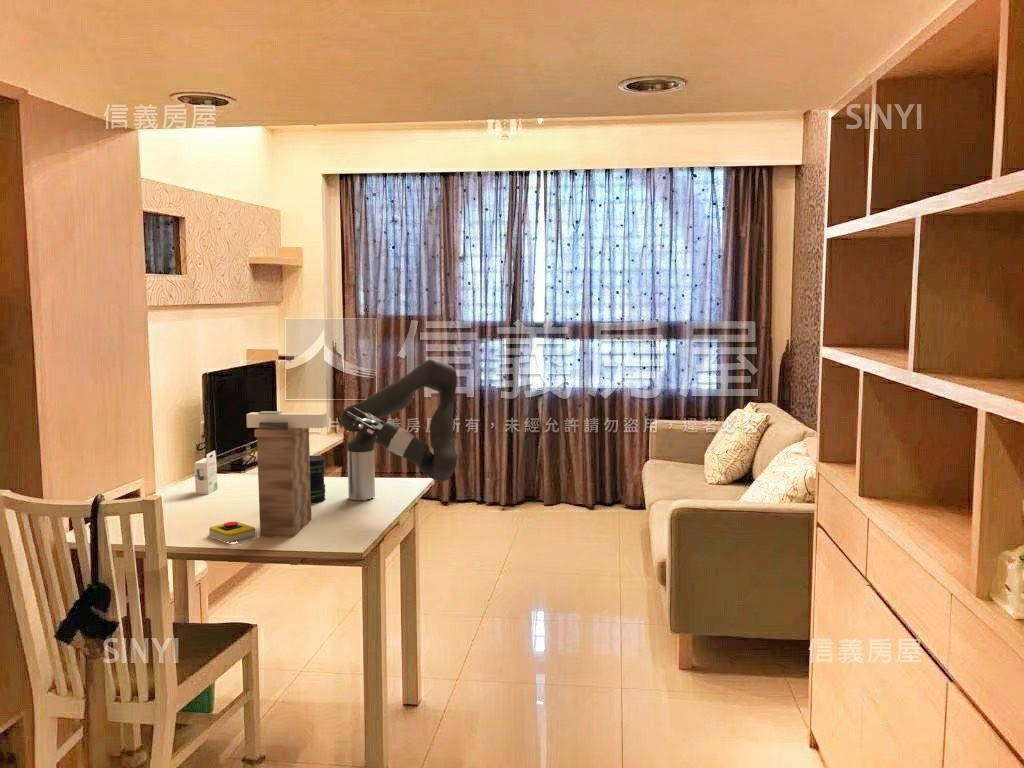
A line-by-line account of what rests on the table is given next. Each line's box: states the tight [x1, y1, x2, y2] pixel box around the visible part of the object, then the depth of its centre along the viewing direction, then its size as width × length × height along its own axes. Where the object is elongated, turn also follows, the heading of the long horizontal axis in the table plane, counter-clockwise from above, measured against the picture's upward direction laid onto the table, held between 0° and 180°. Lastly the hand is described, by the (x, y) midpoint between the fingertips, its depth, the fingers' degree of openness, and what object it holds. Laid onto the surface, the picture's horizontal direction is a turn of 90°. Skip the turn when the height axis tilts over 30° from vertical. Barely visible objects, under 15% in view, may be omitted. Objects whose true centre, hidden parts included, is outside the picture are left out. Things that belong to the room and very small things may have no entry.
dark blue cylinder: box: [310, 455, 326, 505], centre depth 275 cm, size 10×10×15 cm
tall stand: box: [253, 422, 312, 537], centre depth 240 cm, size 19×11×34 cm, turn 178°
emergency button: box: [208, 521, 261, 544], centre depth 233 cm, size 9×4×15 cm
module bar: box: [245, 410, 328, 429], centre depth 236 cm, size 4×23×4 cm, turn 88°
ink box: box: [193, 450, 219, 495], centre depth 288 cm, size 9×5×15 cm, turn 178°
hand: (347, 411), depth 235 cm, fingers open, 8 cm apart
